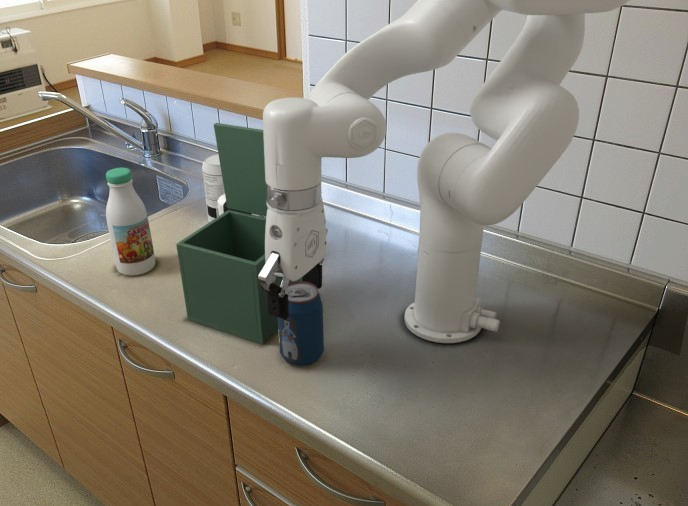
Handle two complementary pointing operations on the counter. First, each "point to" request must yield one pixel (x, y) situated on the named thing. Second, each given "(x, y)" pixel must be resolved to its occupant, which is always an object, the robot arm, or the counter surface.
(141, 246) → the milk bottle
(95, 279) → the counter surface
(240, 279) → the bread box
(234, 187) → the bread box lid
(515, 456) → the counter surface
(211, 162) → the supplement can
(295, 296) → the soda can
